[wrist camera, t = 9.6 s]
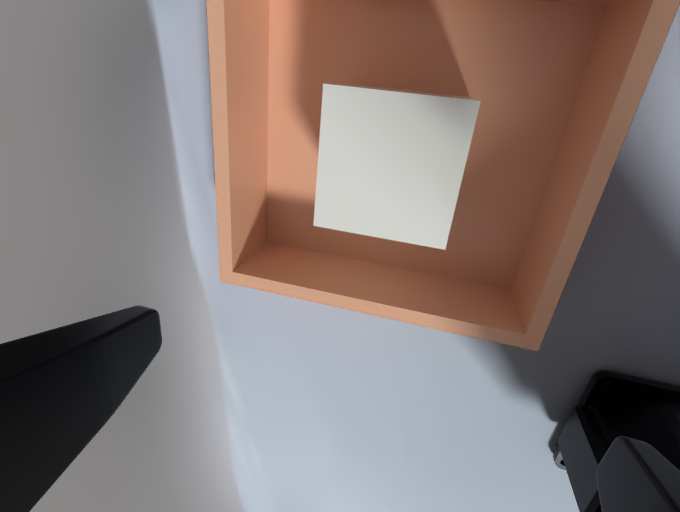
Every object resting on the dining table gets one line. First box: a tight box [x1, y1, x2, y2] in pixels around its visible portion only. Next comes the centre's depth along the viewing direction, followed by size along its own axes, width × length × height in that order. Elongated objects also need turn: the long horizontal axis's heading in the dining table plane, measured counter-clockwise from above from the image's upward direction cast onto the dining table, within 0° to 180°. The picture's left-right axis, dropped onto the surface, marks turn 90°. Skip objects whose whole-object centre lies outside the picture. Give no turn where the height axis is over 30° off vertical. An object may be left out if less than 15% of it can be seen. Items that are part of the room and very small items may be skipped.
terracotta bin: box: [206, 0, 680, 351], centre depth 14 cm, size 13×12×4 cm
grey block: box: [313, 84, 481, 250], centre depth 14 cm, size 4×4×4 cm
